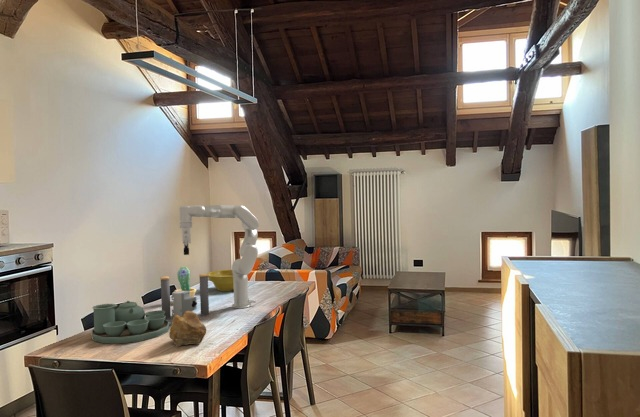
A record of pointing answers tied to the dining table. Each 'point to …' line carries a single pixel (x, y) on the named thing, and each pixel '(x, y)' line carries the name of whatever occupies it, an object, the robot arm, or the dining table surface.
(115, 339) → the tea set
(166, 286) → the post
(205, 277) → the post
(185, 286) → the potted cactus
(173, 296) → the circuit breaker
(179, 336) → the rough brown rock
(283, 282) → the dining table surface
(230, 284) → the planter bowl
